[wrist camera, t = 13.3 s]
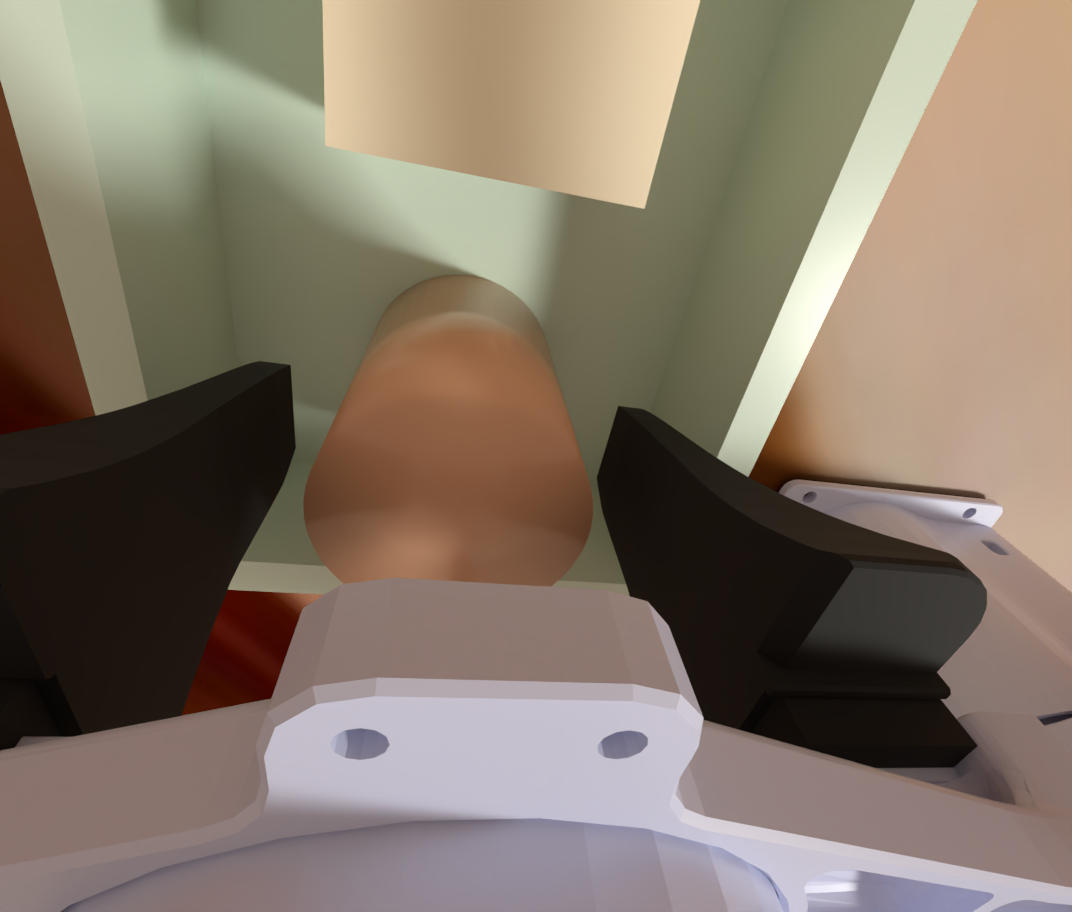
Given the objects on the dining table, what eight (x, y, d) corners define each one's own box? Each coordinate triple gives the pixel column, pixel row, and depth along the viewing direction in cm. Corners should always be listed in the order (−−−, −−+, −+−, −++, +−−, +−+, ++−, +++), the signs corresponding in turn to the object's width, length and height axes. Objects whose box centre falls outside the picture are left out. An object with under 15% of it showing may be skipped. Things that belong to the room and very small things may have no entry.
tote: (904, -234, 10) (1206, -477, 6) (638, 505, 20) (682, 612, 15) (71, -565, 8) (-417, -1390, 3) (224, 468, 17) (143, 585, 13)
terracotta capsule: (560, 285, 14) (620, 407, 8) (536, 443, 17) (569, 620, 11) (367, 264, 14) (285, 383, 8) (374, 433, 16) (317, 617, 10)
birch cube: (649, -108, 10) (769, -257, 6) (589, 177, 13) (644, 208, 9) (384, -190, 9) (313, -431, 5) (376, 133, 12) (325, 146, 8)
